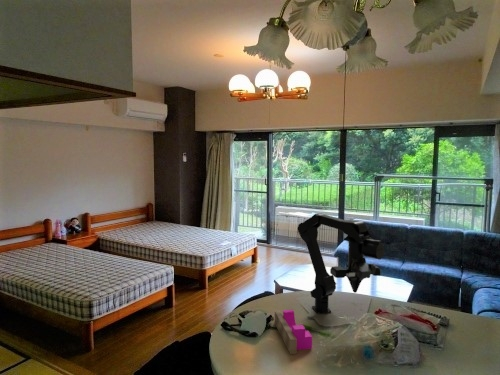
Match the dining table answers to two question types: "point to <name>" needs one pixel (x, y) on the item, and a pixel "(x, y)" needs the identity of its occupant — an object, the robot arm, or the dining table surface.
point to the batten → (286, 333)
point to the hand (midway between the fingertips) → (354, 292)
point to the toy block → (298, 331)
